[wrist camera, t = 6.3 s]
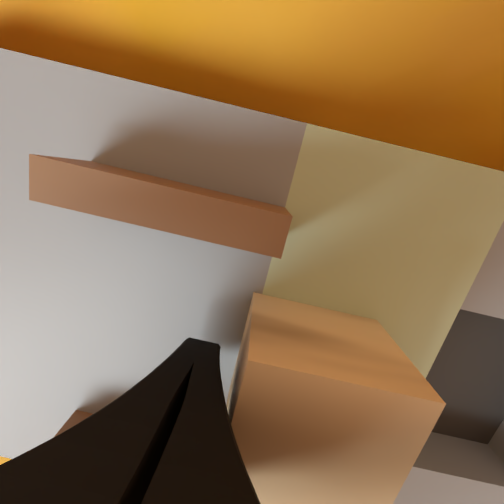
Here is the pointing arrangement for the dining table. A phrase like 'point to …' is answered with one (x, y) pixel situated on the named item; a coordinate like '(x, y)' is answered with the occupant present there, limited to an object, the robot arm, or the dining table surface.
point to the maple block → (326, 406)
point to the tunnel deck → (234, 254)
